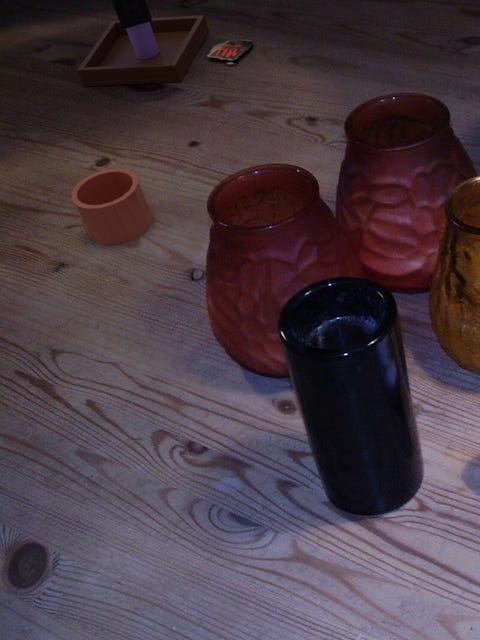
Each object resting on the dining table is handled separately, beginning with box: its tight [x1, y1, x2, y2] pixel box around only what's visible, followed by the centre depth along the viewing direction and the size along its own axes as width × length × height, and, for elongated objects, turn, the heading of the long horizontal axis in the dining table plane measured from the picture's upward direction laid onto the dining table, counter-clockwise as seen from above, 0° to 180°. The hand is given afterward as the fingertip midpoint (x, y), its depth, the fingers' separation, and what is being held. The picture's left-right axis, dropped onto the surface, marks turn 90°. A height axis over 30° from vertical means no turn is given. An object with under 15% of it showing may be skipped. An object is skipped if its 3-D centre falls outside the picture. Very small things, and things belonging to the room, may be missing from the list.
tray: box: [76, 14, 210, 88], centre depth 112 cm, size 11×11×2 cm
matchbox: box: [207, 38, 254, 66], centre depth 111 cm, size 5×5×1 cm
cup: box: [71, 167, 155, 246], centre depth 89 cm, size 6×6×4 cm
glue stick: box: [126, 22, 159, 59], centre depth 109 cm, size 3×3×10 cm
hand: (128, 6), depth 108 cm, fingers open, 9 cm apart
